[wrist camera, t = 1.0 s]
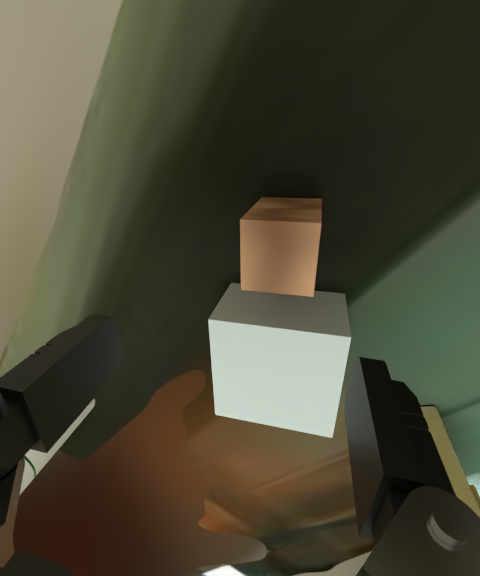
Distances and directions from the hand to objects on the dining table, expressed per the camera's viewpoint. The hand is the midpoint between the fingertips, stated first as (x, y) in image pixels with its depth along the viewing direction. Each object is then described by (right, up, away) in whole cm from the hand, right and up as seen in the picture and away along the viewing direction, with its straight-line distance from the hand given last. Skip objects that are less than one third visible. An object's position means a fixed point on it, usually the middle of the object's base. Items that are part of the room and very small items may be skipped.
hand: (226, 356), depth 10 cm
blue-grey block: (+5, -3, +22) cm, 22 cm away
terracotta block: (+5, +8, +16) cm, 19 cm away
